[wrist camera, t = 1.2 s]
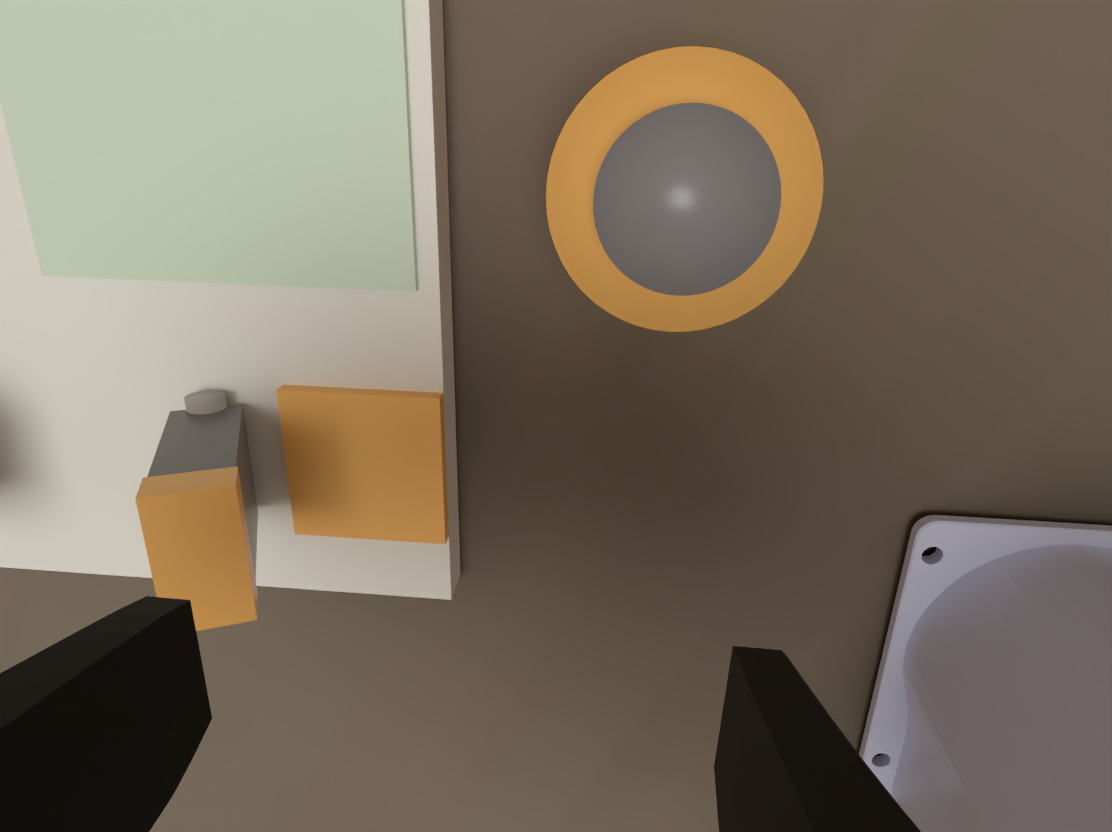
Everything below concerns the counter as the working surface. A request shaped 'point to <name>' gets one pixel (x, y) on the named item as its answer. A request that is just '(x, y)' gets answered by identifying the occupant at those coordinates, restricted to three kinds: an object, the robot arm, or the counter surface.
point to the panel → (229, 278)
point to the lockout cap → (684, 189)
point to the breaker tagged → (203, 512)
